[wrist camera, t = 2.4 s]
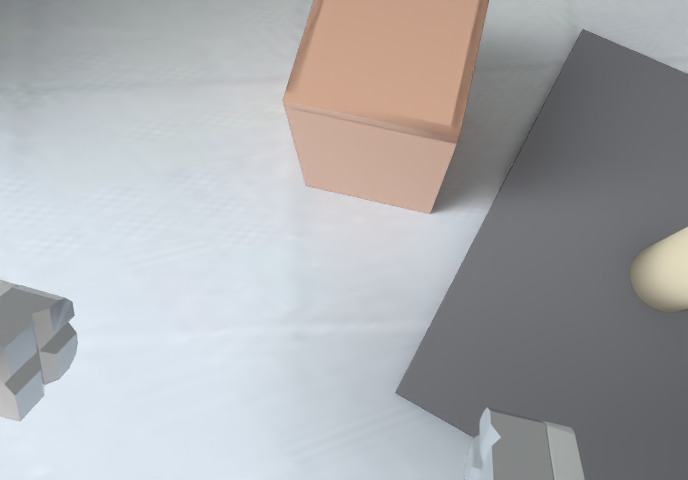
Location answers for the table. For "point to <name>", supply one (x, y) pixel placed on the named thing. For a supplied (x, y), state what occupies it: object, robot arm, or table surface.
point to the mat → (580, 276)
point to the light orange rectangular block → (383, 95)
